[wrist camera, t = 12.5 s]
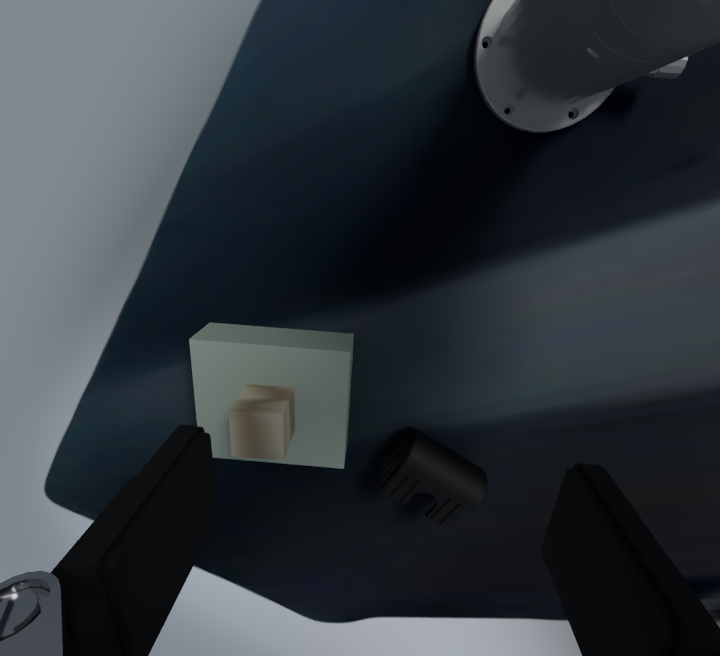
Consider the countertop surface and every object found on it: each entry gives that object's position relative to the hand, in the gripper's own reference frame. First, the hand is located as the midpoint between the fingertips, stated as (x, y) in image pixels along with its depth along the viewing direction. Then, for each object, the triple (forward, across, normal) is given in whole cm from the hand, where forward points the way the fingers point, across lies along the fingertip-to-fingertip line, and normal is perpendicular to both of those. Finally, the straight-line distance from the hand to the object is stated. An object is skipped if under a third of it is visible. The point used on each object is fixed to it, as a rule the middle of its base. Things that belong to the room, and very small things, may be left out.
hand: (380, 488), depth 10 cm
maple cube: (+26, +11, +16) cm, 32 cm away
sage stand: (+31, +11, +16) cm, 37 cm away
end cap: (+32, -7, +24) cm, 40 cm away
